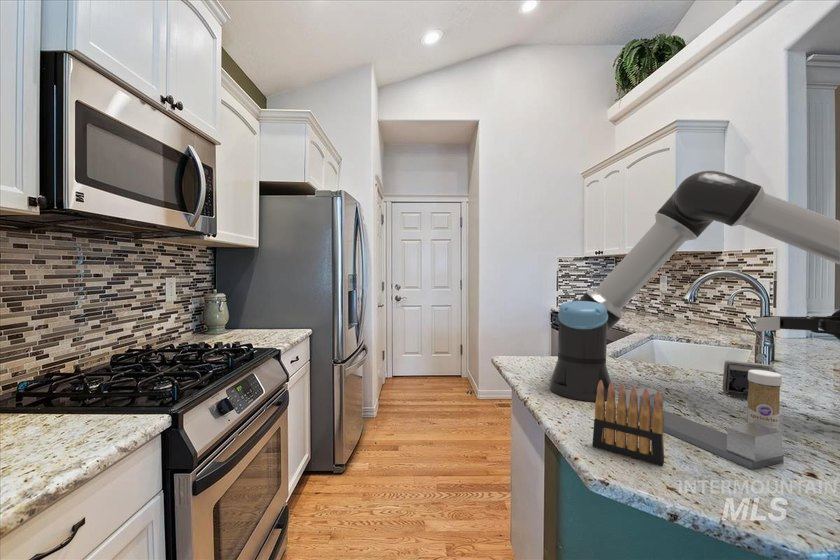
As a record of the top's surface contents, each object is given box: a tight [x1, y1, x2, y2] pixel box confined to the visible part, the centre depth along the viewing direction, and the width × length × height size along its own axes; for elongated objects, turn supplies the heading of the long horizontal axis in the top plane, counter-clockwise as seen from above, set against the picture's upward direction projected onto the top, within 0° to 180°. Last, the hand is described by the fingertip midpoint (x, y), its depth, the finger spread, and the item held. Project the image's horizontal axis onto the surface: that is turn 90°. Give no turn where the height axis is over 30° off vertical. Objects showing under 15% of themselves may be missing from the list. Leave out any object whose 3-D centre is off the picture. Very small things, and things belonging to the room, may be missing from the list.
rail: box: [625, 387, 785, 470], centre depth 73 cm, size 25×8×5 cm, turn 19°
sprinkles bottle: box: [746, 370, 783, 431], centre depth 69 cm, size 5×5×14 cm
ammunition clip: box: [591, 380, 665, 467], centre depth 65 cm, size 11×2×12 cm, turn 52°
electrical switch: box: [722, 359, 773, 400], centre depth 96 cm, size 9×5×9 cm, turn 57°
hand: (799, 329), depth 72 cm, fingers open, 13 cm apart
